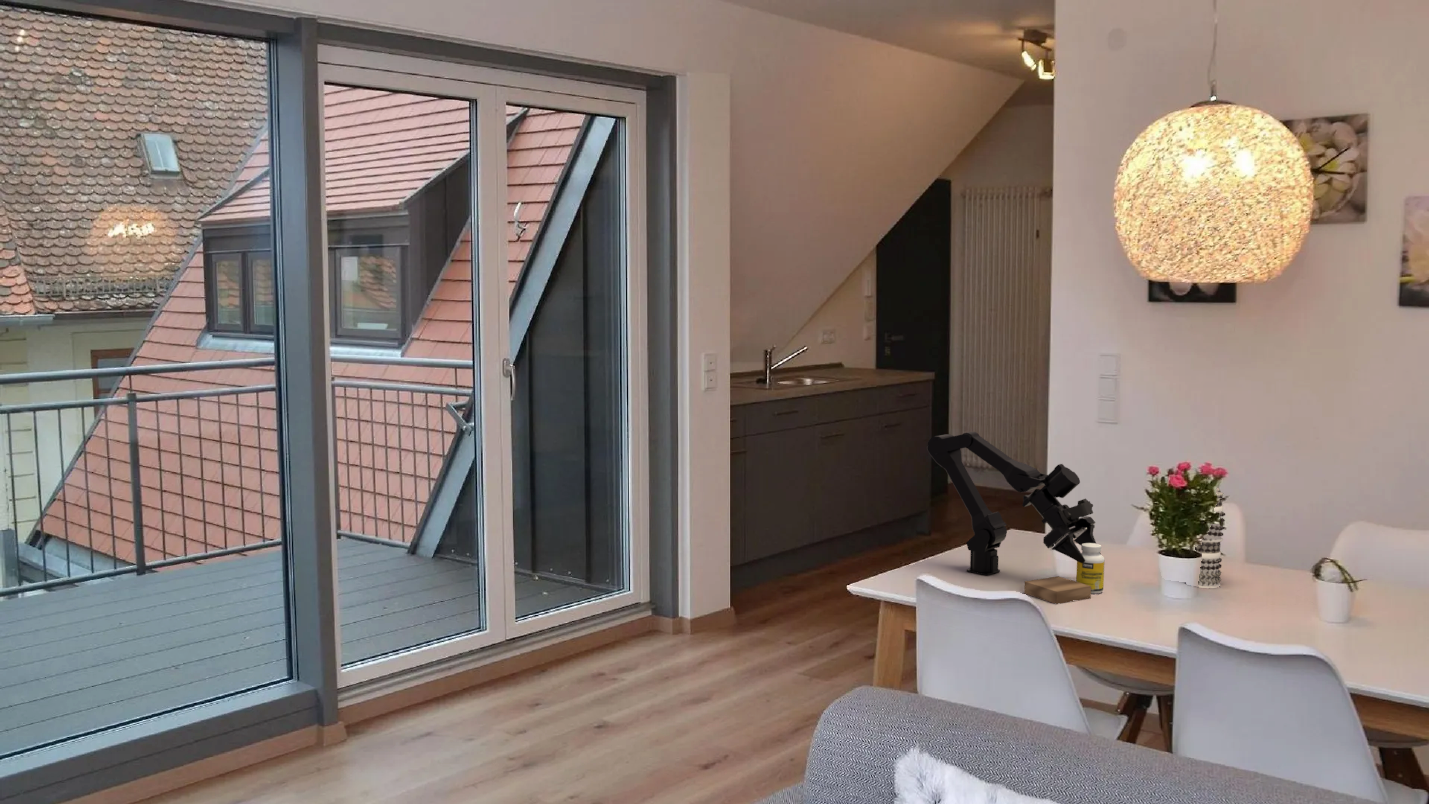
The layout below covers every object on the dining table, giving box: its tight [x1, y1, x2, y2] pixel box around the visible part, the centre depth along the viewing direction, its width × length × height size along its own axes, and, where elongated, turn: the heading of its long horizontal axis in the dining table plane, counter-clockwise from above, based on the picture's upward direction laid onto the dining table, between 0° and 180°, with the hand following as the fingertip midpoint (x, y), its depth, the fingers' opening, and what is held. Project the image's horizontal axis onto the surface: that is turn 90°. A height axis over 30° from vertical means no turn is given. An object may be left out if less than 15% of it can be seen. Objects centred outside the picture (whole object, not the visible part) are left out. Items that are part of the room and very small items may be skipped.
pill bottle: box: [1075, 543, 1105, 595], centre depth 296 cm, size 6×6×12 cm
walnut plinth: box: [1023, 576, 1092, 605], centre depth 292 cm, size 11×11×3 cm
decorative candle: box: [1195, 486, 1226, 589], centre depth 303 cm, size 9×9×25 cm
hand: (1091, 558), depth 296 cm, fingers open, 9 cm apart
